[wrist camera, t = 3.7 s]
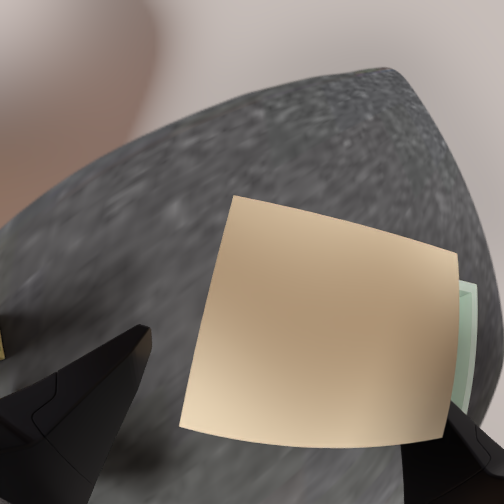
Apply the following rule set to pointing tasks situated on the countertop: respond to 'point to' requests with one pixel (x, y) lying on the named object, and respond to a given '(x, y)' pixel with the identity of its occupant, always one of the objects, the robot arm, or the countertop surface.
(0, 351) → the candy box
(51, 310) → the countertop surface
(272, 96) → the countertop surface
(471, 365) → the green tray
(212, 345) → the beech block
